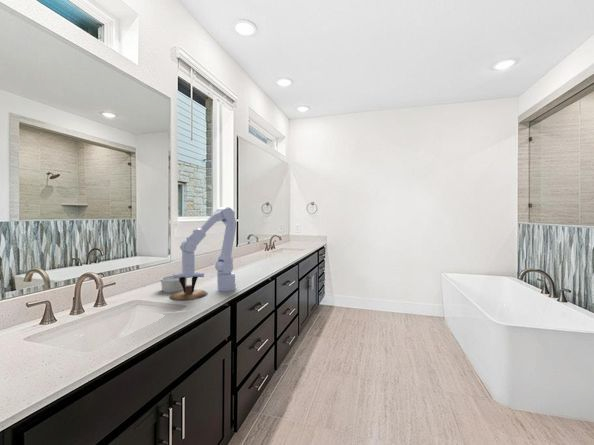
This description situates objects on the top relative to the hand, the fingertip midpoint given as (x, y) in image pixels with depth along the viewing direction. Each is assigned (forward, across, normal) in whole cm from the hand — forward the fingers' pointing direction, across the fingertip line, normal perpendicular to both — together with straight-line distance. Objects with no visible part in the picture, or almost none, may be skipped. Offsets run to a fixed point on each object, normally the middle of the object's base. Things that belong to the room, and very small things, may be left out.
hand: (188, 292), depth 140 cm
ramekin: (+2, -9, +14) cm, 17 cm away
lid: (+2, 0, 0) cm, 2 cm away
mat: (+2, 0, 0) cm, 2 cm away
